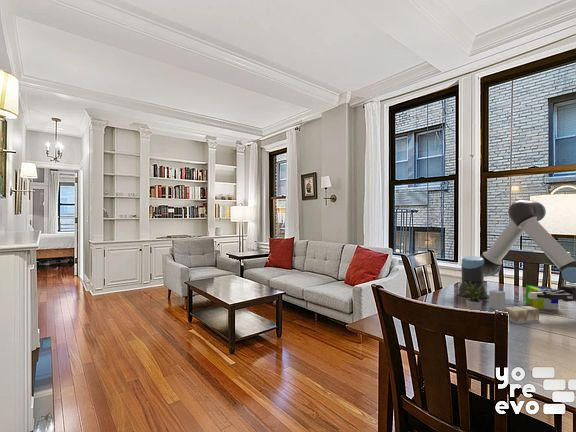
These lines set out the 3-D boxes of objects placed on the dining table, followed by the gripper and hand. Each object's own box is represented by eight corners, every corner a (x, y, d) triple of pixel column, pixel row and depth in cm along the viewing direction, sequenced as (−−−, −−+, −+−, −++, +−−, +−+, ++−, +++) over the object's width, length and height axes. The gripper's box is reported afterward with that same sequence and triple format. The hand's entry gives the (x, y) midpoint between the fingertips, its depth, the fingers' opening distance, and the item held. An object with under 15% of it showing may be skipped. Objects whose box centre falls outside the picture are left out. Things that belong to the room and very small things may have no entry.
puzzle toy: (558, 309, 159) (558, 290, 159) (536, 308, 161) (536, 290, 161) (546, 304, 169) (546, 286, 169) (525, 303, 171) (525, 285, 171)
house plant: (449, 309, 161) (449, 278, 161) (468, 306, 166) (468, 276, 166) (474, 317, 148) (474, 284, 147) (494, 314, 153) (494, 281, 152)
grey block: (489, 307, 164) (489, 290, 163) (495, 306, 166) (495, 289, 166) (499, 310, 159) (499, 293, 159) (505, 309, 161) (505, 292, 161)
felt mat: (521, 315, 150) (521, 315, 150) (539, 322, 142) (539, 321, 142) (500, 317, 149) (500, 316, 149) (517, 323, 140) (517, 323, 140)
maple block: (529, 306, 149) (504, 307, 147) (539, 309, 144) (513, 310, 142) (529, 316, 149) (504, 317, 147) (539, 319, 144) (513, 321, 142)
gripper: (586, 304, 142) (543, 307, 138) (557, 297, 155) (517, 299, 151) (586, 288, 142) (543, 291, 138) (557, 282, 155) (517, 284, 151)
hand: (529, 295), depth 145 cm, fingers closed
